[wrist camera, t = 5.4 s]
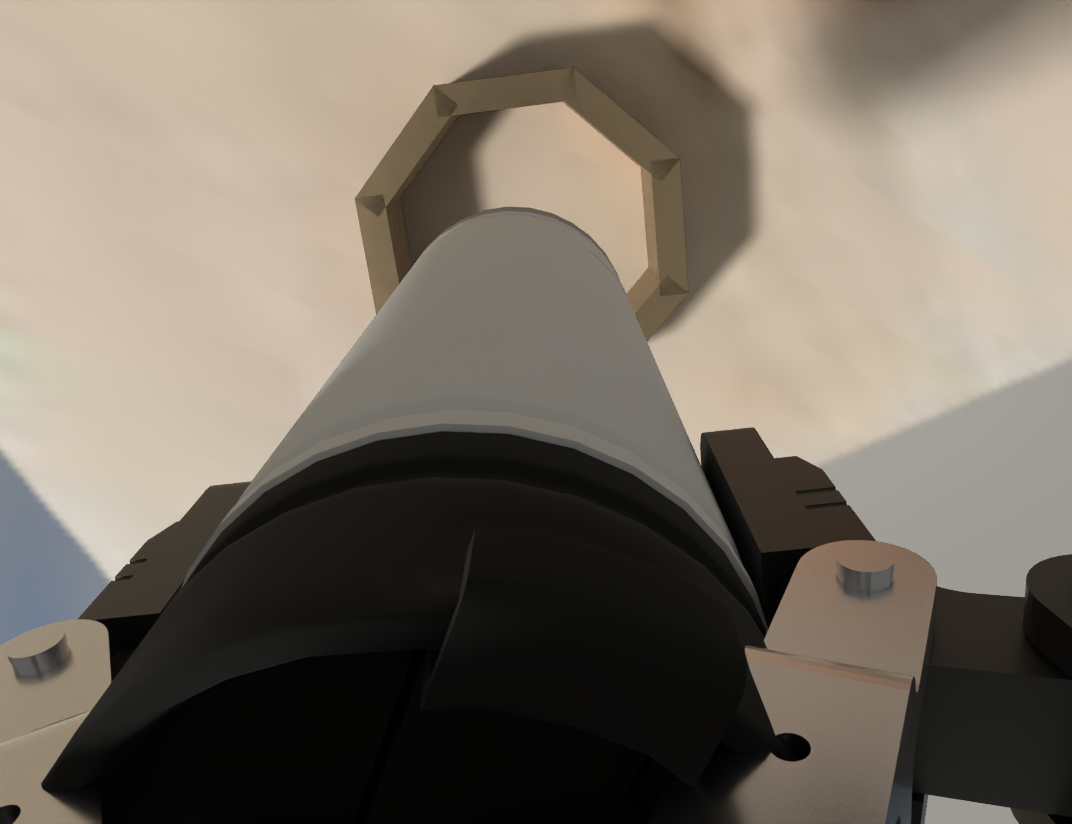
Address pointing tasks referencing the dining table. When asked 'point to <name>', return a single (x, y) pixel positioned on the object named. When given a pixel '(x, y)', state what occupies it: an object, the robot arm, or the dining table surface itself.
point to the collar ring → (448, 101)
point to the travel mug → (452, 576)
